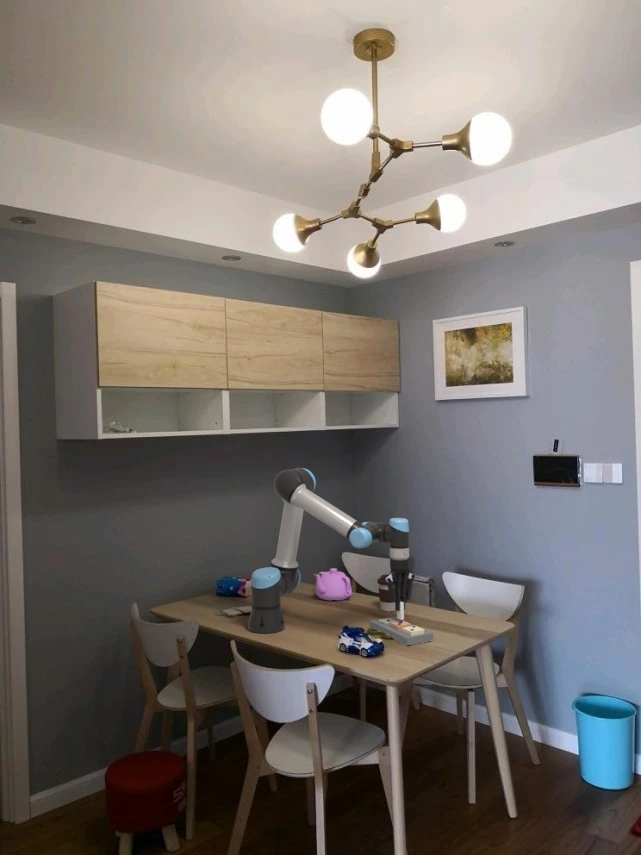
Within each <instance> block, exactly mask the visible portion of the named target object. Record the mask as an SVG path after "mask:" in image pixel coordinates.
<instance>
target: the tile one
mask: <svg viewBox="0 0 641 855" xmlns="http://www.w3.org/2000/svg"><path fill="white" fill-rule="evenodd" d="M386 618H387V619H383V618H380V619H381V620H378V621H379V622H381V623H383V624H385V625H387V624H390V622H394V621H396V620H394V619H391V618H389V617H386Z"/></svg>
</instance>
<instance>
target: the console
mask: <svg viewBox="0 0 641 855" xmlns="http://www.w3.org/2000/svg"><path fill="white" fill-rule="evenodd" d="M387 618H391V619H394V620H396V621H400V619H398V618H397V616H391V617H385V618H378V619H372V620H369V622H368V623H369V629H370V628H371V629H370V630H372V629H374V630H377V631H380V632H384V633H386V634H388V635H389V636H391V637H392V638H393V639H394V640H393V639H392V640H393V641H395V640H396V641H395V642H397V641H398V642H397V643H399V642H400V644H401V643H402V645H403V644H405V645H412V644H416V643H421V642H425V641H430V640H433V641H434V633H433V632H431V631H429V630H427V629H424V634H421V635H415V636H409V635H407V634H405V633H403V632H402V630H396V629H394V628H392V627H390V624H387V625H385V624H383V623H381V622H379V621H378V620H381V619H387ZM410 624H411V626H416V625H415V624H412V623H410ZM374 630H373V631H374ZM405 645H404V646H405ZM412 646H413V645H412Z"/></svg>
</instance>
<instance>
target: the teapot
mask: <svg viewBox="0 0 641 855" xmlns="http://www.w3.org/2000/svg"><path fill="white" fill-rule="evenodd" d="M313 576H314V577H315V594H316V596H318V598H319V599H321V600H325V601H332V600H337V601H342V600H346V599H348V598H350V597H351V596H352V592H353V589H352V584H351V579H350V577H348V576H347V575H346V574H345V573H344V572H343V571H338V568H334V567H332V568H329V571H320V572H318V573H317V574H315V573H313Z"/></svg>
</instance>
